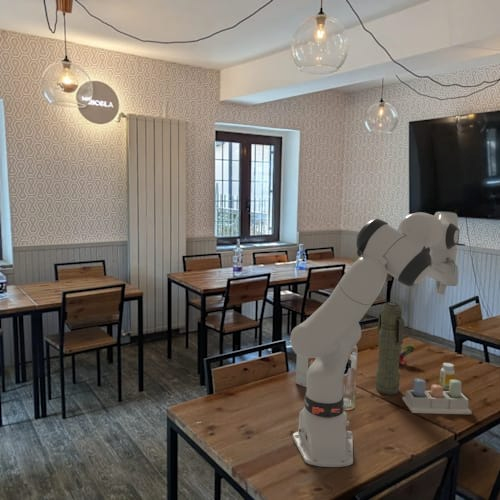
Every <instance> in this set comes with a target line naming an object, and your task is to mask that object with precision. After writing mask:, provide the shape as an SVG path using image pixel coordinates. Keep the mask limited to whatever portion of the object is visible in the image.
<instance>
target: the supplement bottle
mask: <svg viewBox="0 0 500 500" xmlns="http://www.w3.org/2000/svg"><path fill="white" fill-rule="evenodd" d="M454 367H455V366H454V364H453V363H451V362H450V363H449V362H443V363H442V368H441V369H440V373H439V383H438V385H441V386H443V390H446V391H449V383H450V380H452V379H455V376H456V372H455V370H454ZM455 380H456V379H455Z"/></svg>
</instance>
